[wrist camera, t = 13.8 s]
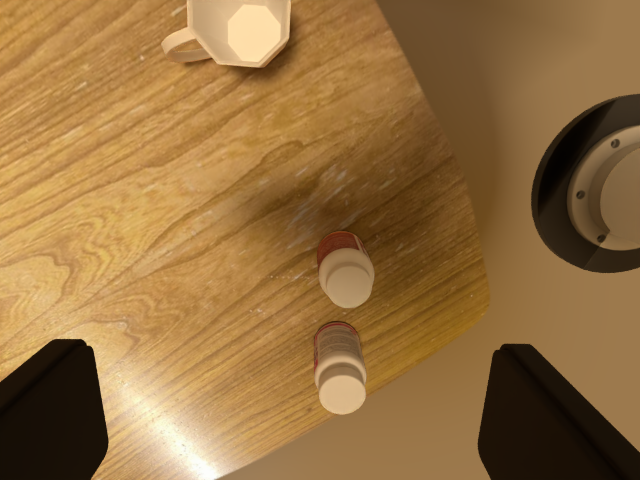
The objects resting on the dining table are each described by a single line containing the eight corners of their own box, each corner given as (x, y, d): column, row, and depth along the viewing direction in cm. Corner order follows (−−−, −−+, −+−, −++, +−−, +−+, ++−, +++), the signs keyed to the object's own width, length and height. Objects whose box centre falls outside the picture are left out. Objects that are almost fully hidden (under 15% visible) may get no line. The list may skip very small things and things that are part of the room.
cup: (309, 67, 32) (309, 49, 25) (201, 106, 33) (167, 100, 25) (281, -23, 30) (271, -74, 23) (167, 20, 31) (119, -15, 23)
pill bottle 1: (307, 260, 37) (306, 297, 29) (333, 220, 36) (339, 247, 28) (348, 283, 38) (357, 325, 30) (374, 245, 37) (391, 278, 29)
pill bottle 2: (306, 331, 40) (304, 383, 32) (348, 313, 39) (357, 362, 31) (325, 367, 41) (328, 426, 33) (365, 350, 40) (379, 406, 32)
